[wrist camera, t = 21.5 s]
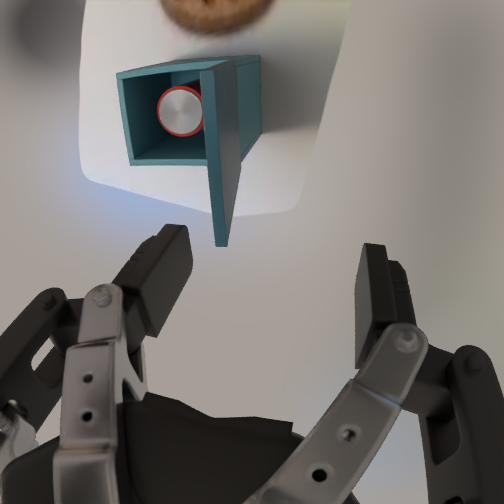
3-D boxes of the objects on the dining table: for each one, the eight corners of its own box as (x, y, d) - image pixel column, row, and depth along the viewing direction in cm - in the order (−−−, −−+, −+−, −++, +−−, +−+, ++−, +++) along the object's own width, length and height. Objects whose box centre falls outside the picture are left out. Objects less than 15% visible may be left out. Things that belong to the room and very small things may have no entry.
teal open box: (174, 134, 47) (129, 165, 36) (167, 61, 40) (115, 73, 30) (261, 134, 44) (238, 167, 34) (259, 55, 38) (233, 59, 27)
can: (181, 103, 43) (147, 120, 35) (202, 68, 39) (170, 76, 31) (216, 125, 44) (189, 147, 36) (239, 91, 40) (215, 104, 32)
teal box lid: (215, 246, 22) (227, 246, 22) (199, 70, 15) (214, 69, 15) (233, 168, 34) (241, 168, 34) (227, 59, 27) (236, 59, 27)
